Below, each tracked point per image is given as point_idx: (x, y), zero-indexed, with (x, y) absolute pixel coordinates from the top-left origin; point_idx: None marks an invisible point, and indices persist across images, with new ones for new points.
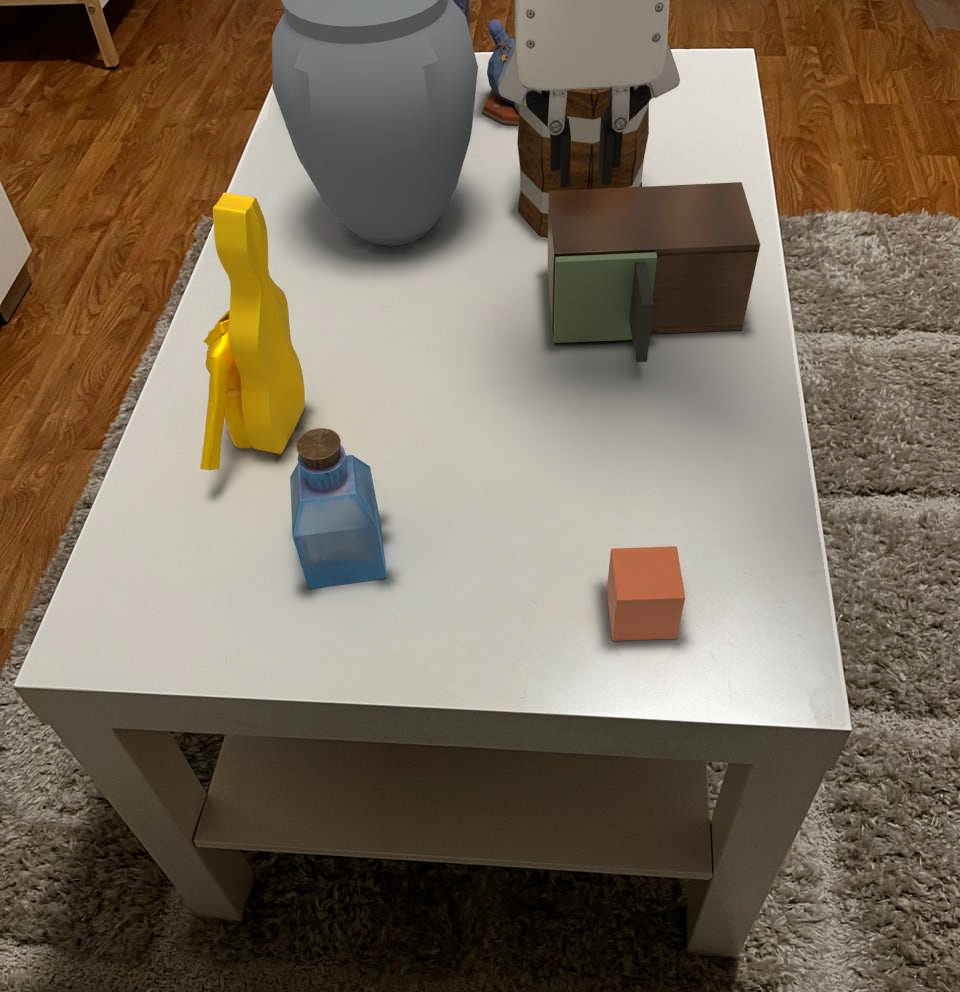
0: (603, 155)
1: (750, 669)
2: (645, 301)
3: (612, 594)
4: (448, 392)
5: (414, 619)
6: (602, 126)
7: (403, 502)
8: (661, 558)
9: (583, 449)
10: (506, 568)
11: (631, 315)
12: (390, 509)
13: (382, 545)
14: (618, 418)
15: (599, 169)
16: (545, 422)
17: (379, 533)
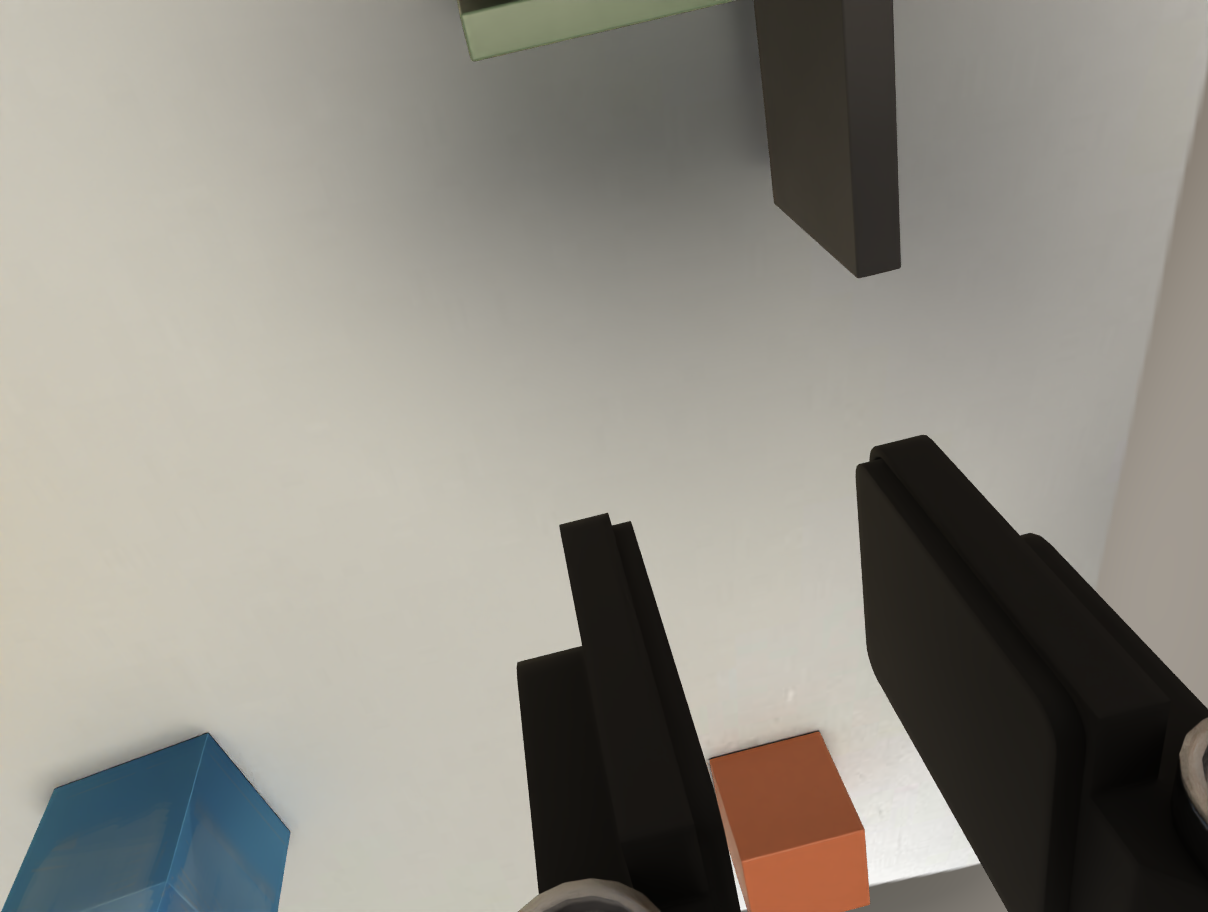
0: (960, 822)
1: (934, 816)
2: (871, 254)
3: (736, 864)
4: (177, 314)
5: (378, 878)
6: (1038, 839)
7: (236, 681)
8: (834, 857)
9: (626, 451)
10: (515, 762)
11: (769, 10)
12: (215, 703)
13: (252, 810)
14: (709, 327)
15: (866, 546)
16: (510, 379)
17: (254, 880)
